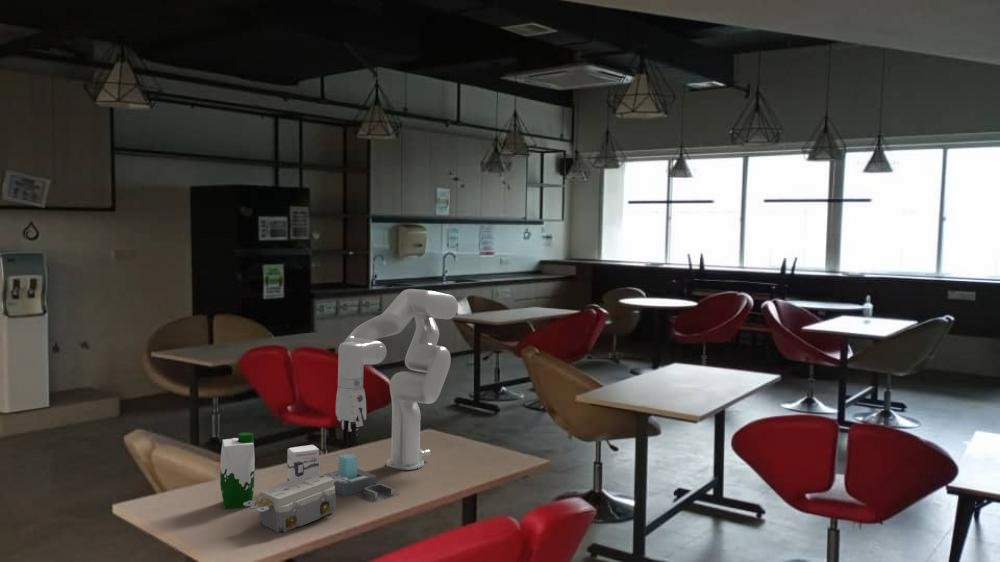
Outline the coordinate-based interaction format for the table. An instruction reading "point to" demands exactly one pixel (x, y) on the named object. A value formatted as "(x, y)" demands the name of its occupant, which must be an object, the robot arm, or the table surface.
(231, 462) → the milk carton
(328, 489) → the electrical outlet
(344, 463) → the plug
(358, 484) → the port
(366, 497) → the holster
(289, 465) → the ink box
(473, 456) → the table surface
